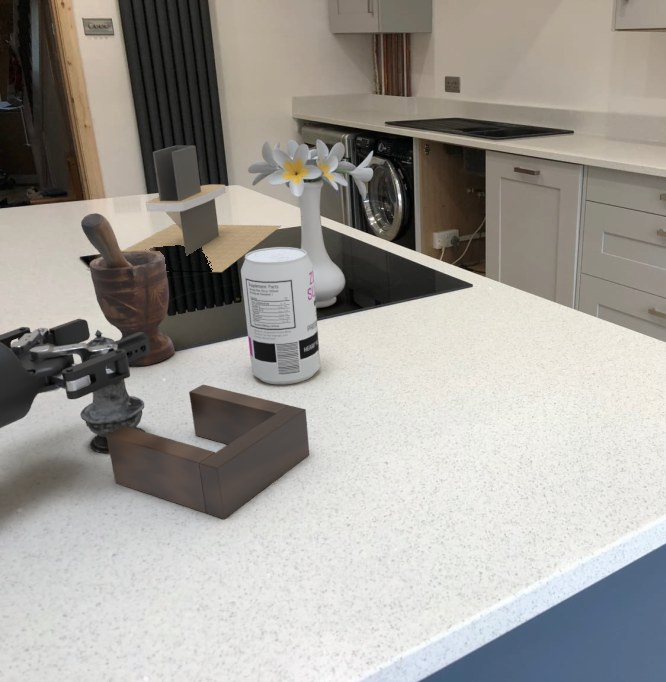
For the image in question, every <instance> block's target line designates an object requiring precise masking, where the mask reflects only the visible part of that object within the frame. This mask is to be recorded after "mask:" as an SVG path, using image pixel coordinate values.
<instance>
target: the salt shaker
mask: <svg viewBox="0 0 666 682" xmlns="http://www.w3.org/2000/svg"><path fill="white" fill-rule="evenodd" d="M102 335H103V332H101V330H99V329H97V330H96V331H95V333H94V336H96V337H94V338H93V339H92V340H90V341H89V342H87V343H86V344H88V345H89V346H90V347H93V346H99V345H106V344H111V343H113V342H115V341H116V340H114V339H112V338H110V337H105V336H102ZM101 355H103V354H101ZM101 355H95V356H92V357H91V359H93V358H96V357H98V356H101ZM107 375H108V374H107ZM125 381H126V380H125V379H123V380H121V381H118V382H116V383H114V384H111V385H109V386H106V387H104V388H102V389H99V390H97V391H95V392H92V402H91V403H89V404H88V405H86V406H85V407H83V409H82V410H81V413H80V418H81V420H83V421H84V422H85V424H86V426H87V428H88V429H89V431H91V432H92V433H93V434H95V436H94V437H92V440H91V441H90V443H89V446H90V448H91V449H90V450H92V451H94V452H97V453H101V454H110V452H109V447H108V442H107V437H106V435H107V434H109V433H111V432H113V431H115V430H117V429H119V428H121V427H123V426H126V427H130V428H133V429H137V430H140V431H144V432H146V430H145V429H143V428H141V427H138V426H139V424H140V423H141V421H142V416H143V409H144V408H145V401H144V400H143V399H141V398H140V397H137V396H134V395H133V396H132V395H129V393H128V391H127V387H126V382H125Z"/></svg>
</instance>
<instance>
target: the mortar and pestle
mask: <svg viewBox="0 0 666 682" xmlns="http://www.w3.org/2000/svg"><path fill="white" fill-rule="evenodd" d="M80 225H81V230H82V231H83V233H84V234H85V237H86V238H87V240H88V241H89V243H90V244H91V245H92V246H93V248H94V249H95V250H97V252H98V253H99V254H100V256H99V257H98V258H94V259H93V260H91V261H90V262H89V268H90V270H89V271H90V277H91V280H92V284H93V288H94V294H95V298H96V301H97V303H98V306H99V308H100V311H101V312H102V314H103V315H104V319H105V320H106V321H107V322H108V323H109V324H110V325H111V326H113V327H115V328H116V329H117V330H118V331H119V332H120V333H121V337H120V339H123V338H125V337H128V336H130V335H133V334H135V333H138V332H144V333H147V334H148V335H149V340H150V347H151V351H150V353H149V354H147V355H145V356H143V357H141V358H138V359H136V360H134V361H131V362H129V363H128V365H129V367H138V366H142V367H143V366H149V365H153V364H156V363H159V362H162V361H164V360H167V359H168V358H170V357H172V356H173V355H174V353H175V346H174V343H173V341H172V339H171V338H170V337H169V336H168V335H166V334H163V333H162V332H160V328H159V326H160V324H161V323H162V322H163V320H164V319H165V318H166V316H167V313H168V309H169V302H170V290H169V288H170V287H169V280H168V277H167V276H168V274H167V272H168V271H166V264H165V257H164V255H163V254H162V253H161V252H160V251H150V250H141V251H138V250H136V251H129V252H126V251H123V250H121V247H120V246H119V242H118V240H117V238H116V234H115V232H114V231H115V230H114V229H113V227H112V225H111V223H110V221H109V220H108V219H107V218H106V217H105V216H104V215H102V214H100V213H97V212H96V213H89V214H87V215H85V216H84V217H83V218H82V219H81V223H80ZM121 251H123V252H121Z"/></svg>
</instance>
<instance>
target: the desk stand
mask: <svg viewBox="0 0 666 682" xmlns="http://www.w3.org/2000/svg"><path fill="white" fill-rule="evenodd" d="M188 394H189V402H190V408H191V415H192V421H193V428H194V429H193V430H194V434H195V436H197V437H200V438H204V439H207V440H210V441H215V442H218V443H221V444H225V446H223V447H222V448H221V449H219V450H217V451H213V450H209V449H205V448H202V447H199V446H195V445H191V444H188V443H185V442H181V441H178V440H175V439H171V438H168V437H164V436H161V435H157V434H153V433H150V432H146V431H145V430H144V431H145V432H144V431H140V430H137V429H133V428H130V427H126V426H123V427H121V428H119V429H117V430H115V431H113V432H111V433H109V434H107V435H106V437H107V442H108V447H109V452H110V453H109V457H110V462H111V467H112V472H113V477H114V482H115V483H116V484H118V485H121V486H124V487H127V488H130V489H132V490H136V491H139V492H141V493H145V494H147V495H151V496H154V497H157V498H160V499H163V500H166V501H169V502H172V503H173V504H174V503H175V504H177V505H181V506H184V507H186V508H190V509H192V510H195V511H199V512H202V513H205V514H206V515H207V514H208V515H211V516H214V517H217V518H219V519H222V520H225V519H226V518H228V517H229V516H230V515H232V514H233V513H235V511H237V510H238V509H240V508H241V507H242V506H243V505H245V504H246V503H248V502H249V501H250V500H251V499H253V498H254V497H255V496H257V495H258V494H259V493H261V492H263V491H264V490H265V489H266V488H268V487H269V486H270V485H271V484H273V483H274V482H276V481H277V480H278V479H279V478H281V477H282V476H283V475H285V474H286V473H287V472H289V471H290V470H291V469H292V468H294V467H295V466H296V465H298V464H299V463H300V462H302V461H303V460H304V459H306V458H307V457H308V456H309V455H310V446H309V445H310V444H309V432H308V431H309V430H308V420H307V410H306V408H303V407H298V406H294V405H289V404H286V403H282V402H277V401H275V400H270V399H265V398H260V397H257V396H252V395H250V394H249V395H248V394H244V393H240V392H236V391H231V390H228V389H223V388H220V387H219V388H218V387H215V386H211V385H207V384H201V385H199V386H198V387H195V388H194V389H192V390H189V391H188Z"/></svg>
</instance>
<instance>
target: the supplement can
mask: <svg viewBox="0 0 666 682" xmlns="http://www.w3.org/2000/svg"><path fill="white" fill-rule="evenodd" d="M240 275H241V286H242V294H243V303H244V313H245V321H246V329H247V338H248V347H249V355H250V357H249V358H250V365H251V373H252V374H253V375H254V376H255V377H256V378H258V379H259V380H260V381H262V382H264V383H266V384H271V385H292V384H297V383H301V382H304V381H307V380H308V379H310V378H312V377H313V376H314V375H315V374H316V372H318V370H319V369H320V368H321V357H320V344H319V329H318V318H317V317H318V315H317V308H316V302H315V288H314V275H313V264H312V262H311V261H310V259H309V257H308V256H307V253H306V251H304V250H302V249H301V248H299V247H289V246H274V247H265V248H260V249H255V250H252V251H248V252H247V253H246V254H245V255H244V262H243V263H242V266H241V269H240Z"/></svg>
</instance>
